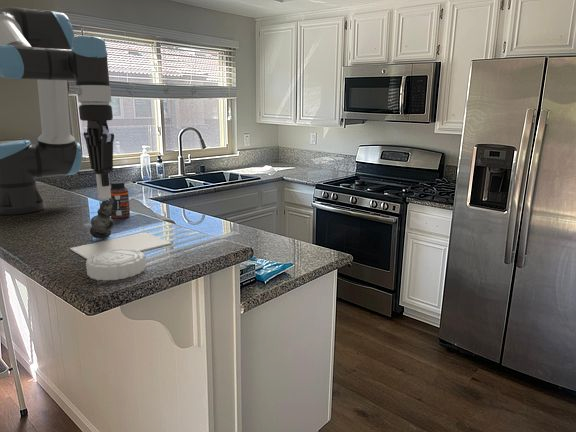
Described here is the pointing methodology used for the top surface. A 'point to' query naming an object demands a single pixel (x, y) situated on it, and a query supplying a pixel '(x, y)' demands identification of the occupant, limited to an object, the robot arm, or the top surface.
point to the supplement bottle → (119, 200)
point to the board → (121, 244)
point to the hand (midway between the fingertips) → (104, 198)
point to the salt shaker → (102, 221)
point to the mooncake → (115, 264)
